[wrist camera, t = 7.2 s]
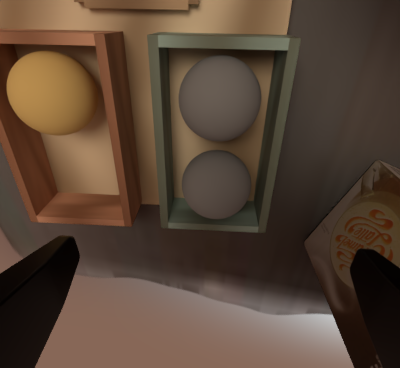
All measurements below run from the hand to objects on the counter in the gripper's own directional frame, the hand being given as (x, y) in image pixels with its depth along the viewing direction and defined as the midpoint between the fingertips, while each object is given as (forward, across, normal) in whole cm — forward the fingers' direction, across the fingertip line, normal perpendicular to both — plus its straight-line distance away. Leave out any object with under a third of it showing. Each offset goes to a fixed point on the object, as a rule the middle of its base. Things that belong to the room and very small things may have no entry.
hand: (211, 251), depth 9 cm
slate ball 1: (+11, 0, -2) cm, 11 cm away
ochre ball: (+11, +9, -3) cm, 14 cm away
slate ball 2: (+11, 0, +3) cm, 11 cm away
